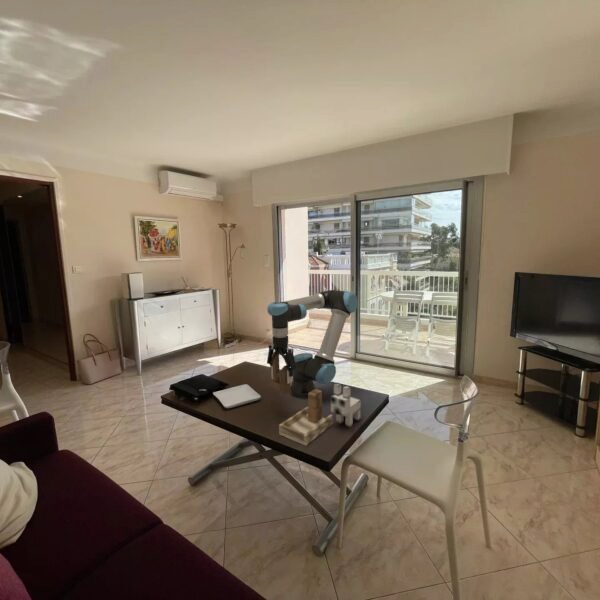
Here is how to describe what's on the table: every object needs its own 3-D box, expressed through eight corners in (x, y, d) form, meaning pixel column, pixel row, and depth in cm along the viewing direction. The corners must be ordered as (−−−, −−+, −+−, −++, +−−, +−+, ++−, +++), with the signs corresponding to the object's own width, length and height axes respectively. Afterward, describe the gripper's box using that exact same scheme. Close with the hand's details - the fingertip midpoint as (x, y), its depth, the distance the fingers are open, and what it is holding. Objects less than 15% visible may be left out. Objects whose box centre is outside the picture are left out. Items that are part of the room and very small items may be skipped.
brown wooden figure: (285, 394, 152) (284, 358, 150) (271, 387, 160) (269, 353, 157) (290, 391, 155) (289, 356, 152) (276, 385, 163) (275, 351, 160)
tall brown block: (315, 415, 157) (315, 389, 155) (322, 418, 155) (322, 391, 153) (308, 420, 152) (308, 393, 151) (315, 423, 150) (315, 395, 148)
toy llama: (362, 416, 159) (363, 378, 156) (344, 431, 146) (344, 390, 143) (349, 412, 164) (350, 375, 161) (330, 426, 150) (330, 386, 148)
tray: (307, 414, 162) (307, 406, 161) (332, 423, 153) (332, 415, 152) (279, 434, 144) (278, 425, 143) (305, 445, 135) (305, 436, 135)
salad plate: (225, 412, 165) (224, 406, 165) (212, 397, 183) (212, 391, 182) (262, 402, 177) (262, 396, 176) (246, 388, 194) (246, 383, 194)
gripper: (258, 334, 156) (260, 377, 160) (293, 341, 143) (294, 388, 147) (268, 331, 162) (270, 373, 166) (303, 337, 149) (304, 382, 153)
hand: (281, 380), depth 156 cm, fingers open, 9 cm apart
